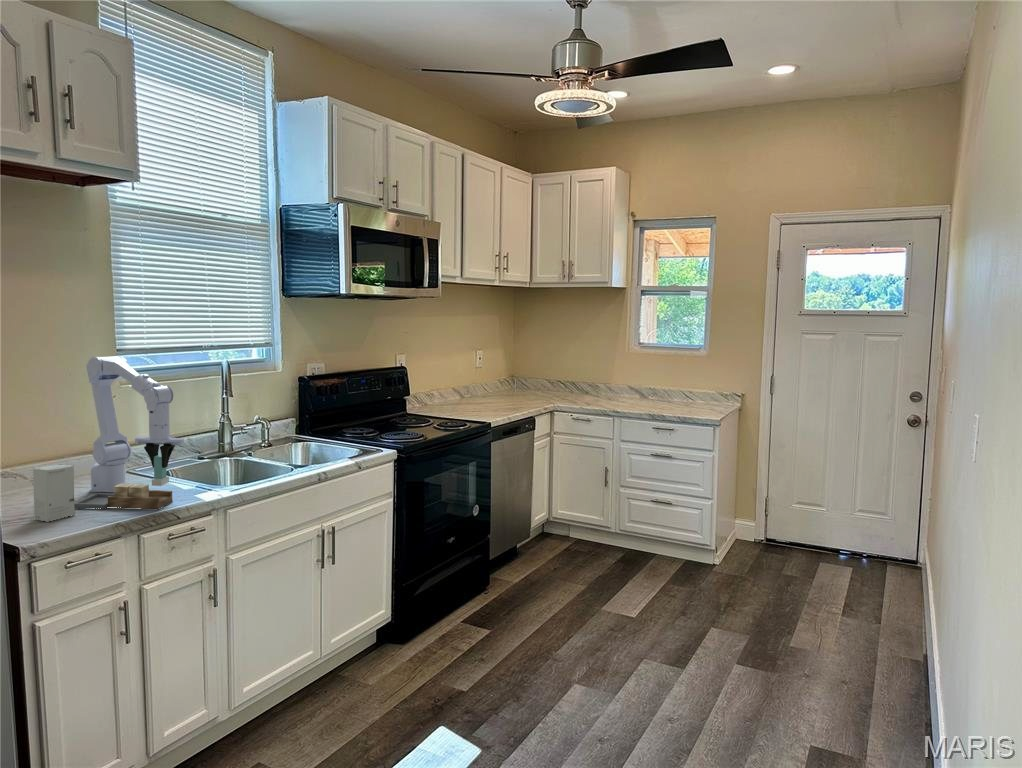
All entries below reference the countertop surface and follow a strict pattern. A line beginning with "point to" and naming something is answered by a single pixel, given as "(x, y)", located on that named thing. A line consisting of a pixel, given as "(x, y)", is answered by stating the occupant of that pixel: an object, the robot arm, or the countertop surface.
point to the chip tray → (94, 501)
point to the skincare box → (53, 492)
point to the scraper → (159, 472)
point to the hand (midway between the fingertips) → (160, 467)
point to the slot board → (142, 500)
